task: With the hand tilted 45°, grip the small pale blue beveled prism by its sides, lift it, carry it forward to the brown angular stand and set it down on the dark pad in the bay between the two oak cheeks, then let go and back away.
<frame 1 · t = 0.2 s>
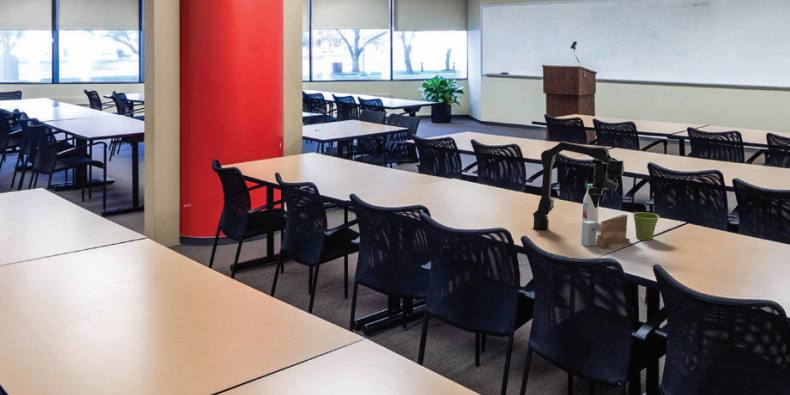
hand: (598, 205, 344), 14 cm above the table, tool pointing down, fingers open, 9 cm apart
pale blue beveled prism: (588, 244, 331), on the table
milk bottle: (589, 223, 370), on the table
brown angular stand: (613, 243, 332), on the table
plant pot: (644, 238, 340), on the table
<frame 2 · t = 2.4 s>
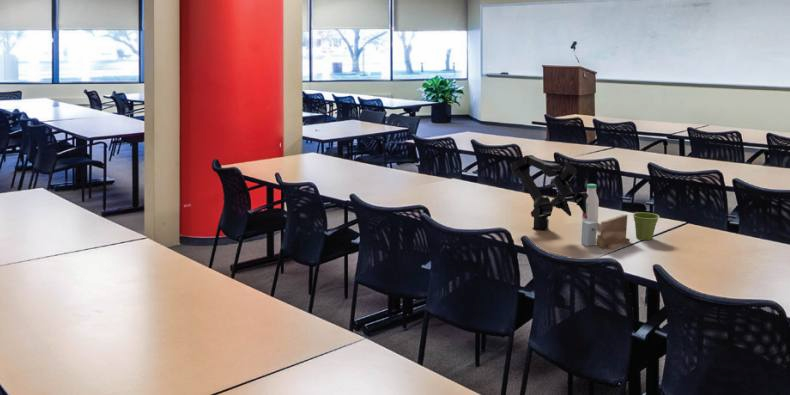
hand: (578, 214, 335), 12 cm above the table, tool tilted 45°, fingers open, 9 cm apart
nothing on the table moved.
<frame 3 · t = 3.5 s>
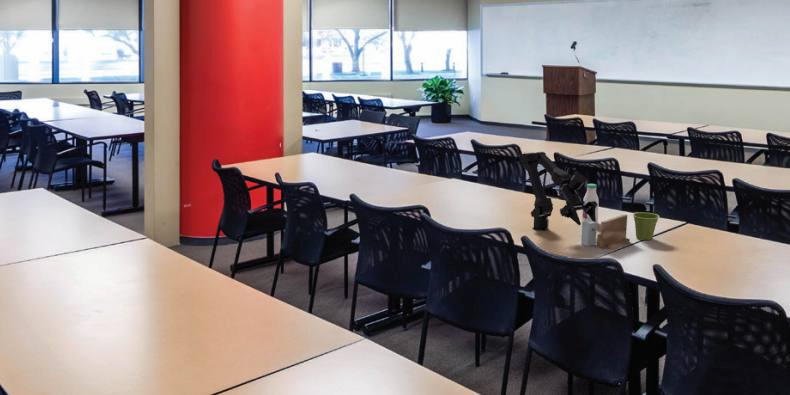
hand: (587, 223, 330), 9 cm above the table, tool tilted 45°, fingers open, 9 cm apart
nothing on the table moved.
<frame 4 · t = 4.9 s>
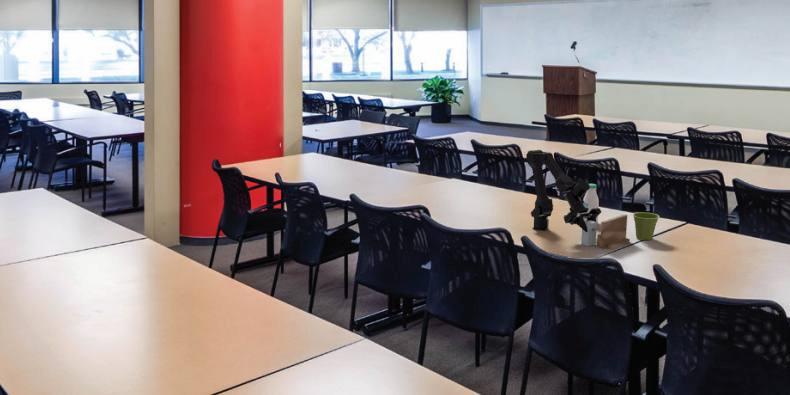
hand: (591, 231, 328), 7 cm above the table, tool tilted 45°, fingers closed on pale blue beveled prism, 5 cm apart
pale blue beveled prism: (588, 244, 331), on the table, touching gripper
everything else where it was.
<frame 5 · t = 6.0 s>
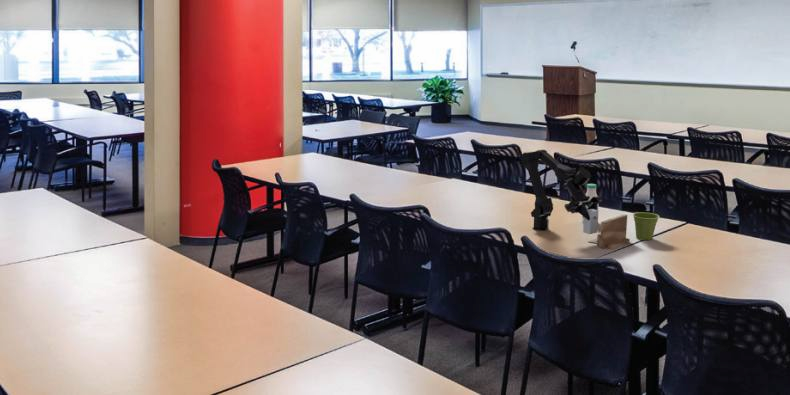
hand: (593, 219, 330), 12 cm above the table, tool tilted 45°, fingers closed on pale blue beveled prism, 5 cm apart
pale blue beveled prism: (590, 232, 332), point 5 cm above the table, touching gripper
everything else where it was.
when the fingers open (8 cm above the table, at t = 7.5 s): pale blue beveled prism stays where it is, resting on brown angular stand.
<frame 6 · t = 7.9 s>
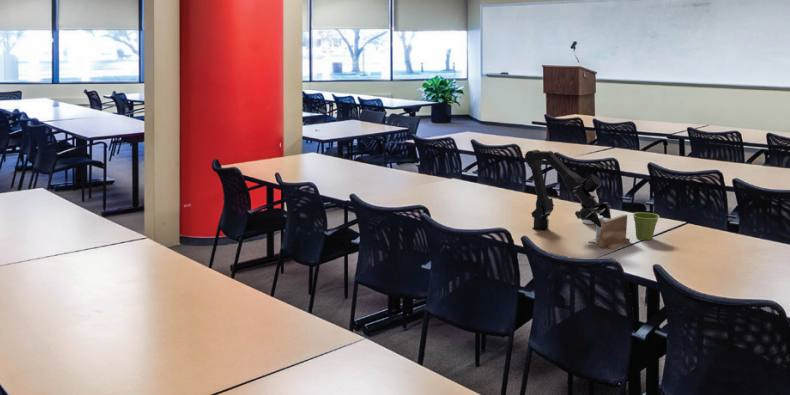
hand: (606, 225, 333), 8 cm above the table, tool tilted 45°, fingers open, 9 cm apart
pale blue beveled prism: (602, 240, 335), resting on brown angular stand
everything else where it was.
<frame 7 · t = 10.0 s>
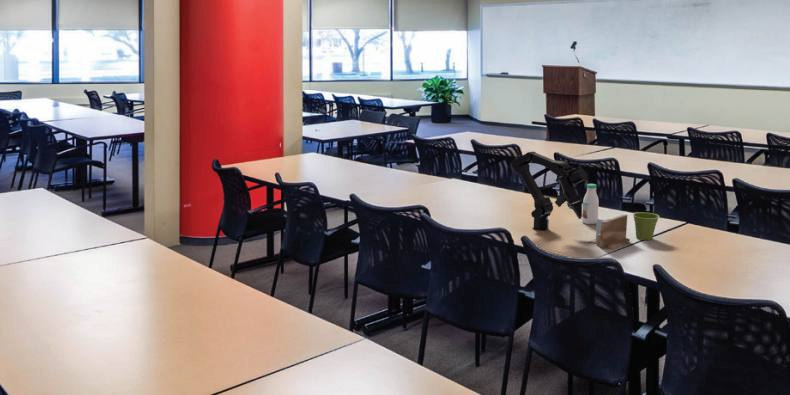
hand: (580, 218, 341), 9 cm above the table, tool tilted 30°, fingers open, 9 cm apart
nothing on the table moved.
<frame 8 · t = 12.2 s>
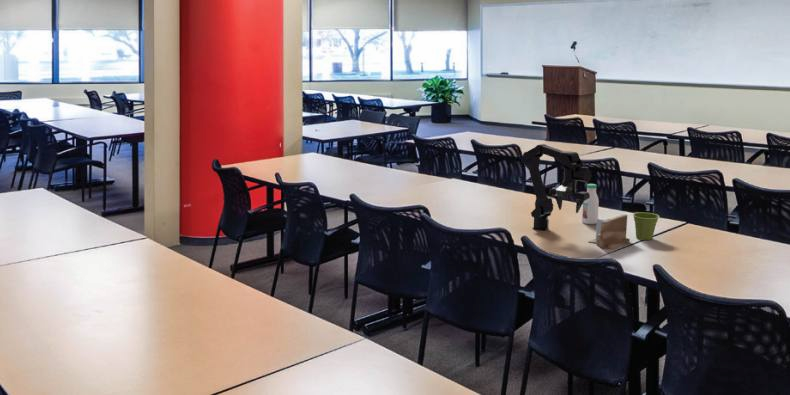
hand: (568, 211, 343), 12 cm above the table, tool pointing down, fingers open, 9 cm apart
nothing on the table moved.
at the end: pale blue beveled prism inside the target area (0.1 cm from its centre), resting on brown angular stand; pale blue beveled prism tilted 0°; the gripper is holding nothing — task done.
